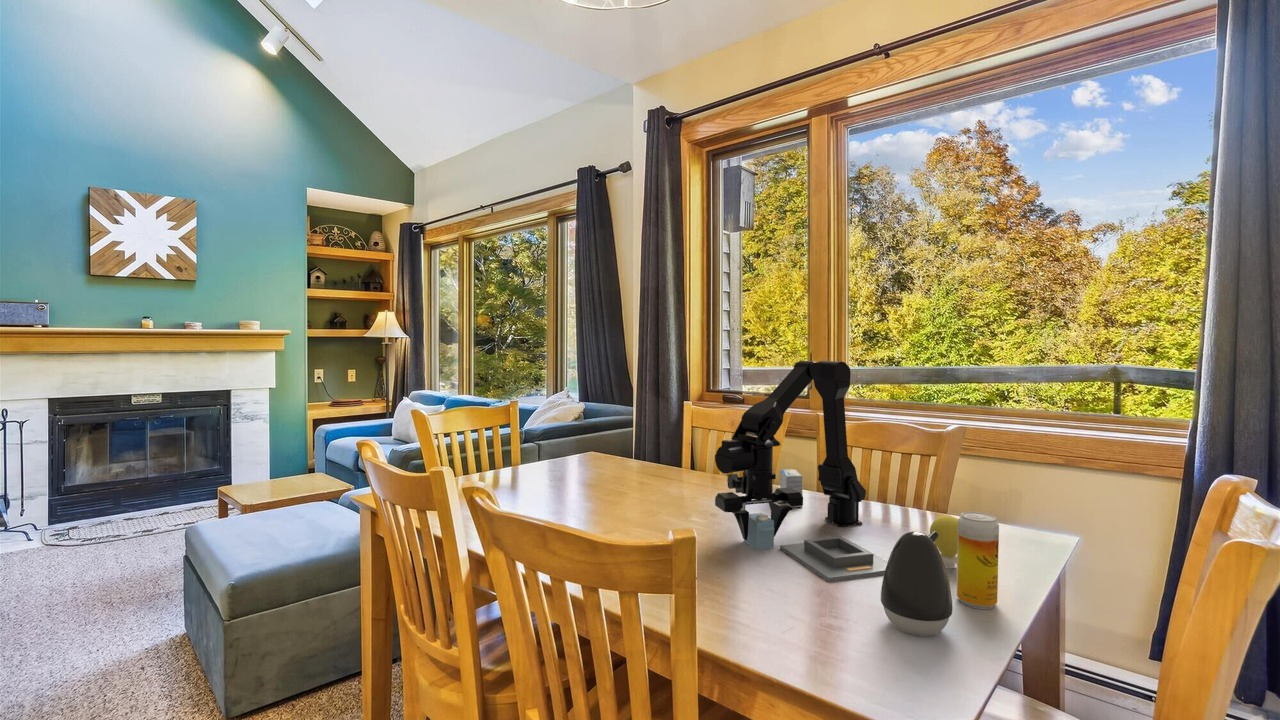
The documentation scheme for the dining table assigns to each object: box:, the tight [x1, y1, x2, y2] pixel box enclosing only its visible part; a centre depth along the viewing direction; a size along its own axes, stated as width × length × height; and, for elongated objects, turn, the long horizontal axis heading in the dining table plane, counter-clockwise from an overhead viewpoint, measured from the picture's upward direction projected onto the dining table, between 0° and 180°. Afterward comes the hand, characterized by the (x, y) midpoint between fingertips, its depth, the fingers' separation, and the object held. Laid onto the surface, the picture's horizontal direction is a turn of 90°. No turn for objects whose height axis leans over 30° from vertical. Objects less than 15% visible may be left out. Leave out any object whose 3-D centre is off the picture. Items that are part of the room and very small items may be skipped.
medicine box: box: [779, 469, 804, 508], centre depth 163 cm, size 8×4×9 cm, turn 179°
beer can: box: [956, 511, 1000, 610], centre depth 102 cm, size 6×6×15 cm
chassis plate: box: [779, 535, 888, 583], centre depth 122 cm, size 16×18×3 cm
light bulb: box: [929, 515, 959, 569], centre depth 119 cm, size 7×7×10 cm
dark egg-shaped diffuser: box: [880, 530, 953, 637], centre depth 94 cm, size 10×10×15 cm
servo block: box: [744, 512, 775, 551], centre depth 132 cm, size 4×8×7 cm, turn 16°
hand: (758, 538), depth 132 cm, fingers open, 6 cm apart
